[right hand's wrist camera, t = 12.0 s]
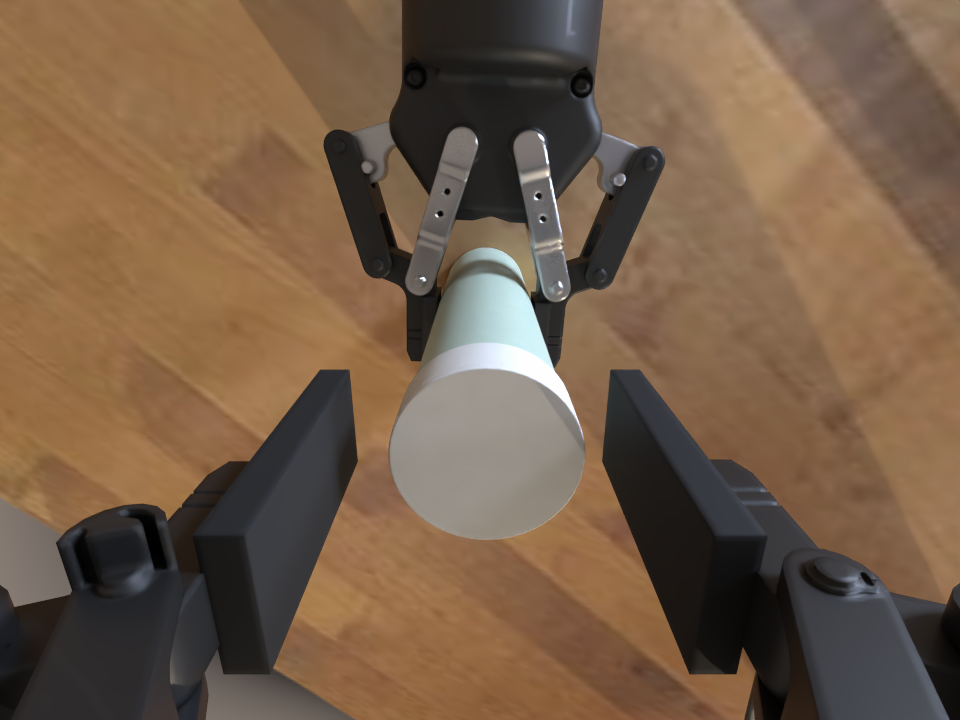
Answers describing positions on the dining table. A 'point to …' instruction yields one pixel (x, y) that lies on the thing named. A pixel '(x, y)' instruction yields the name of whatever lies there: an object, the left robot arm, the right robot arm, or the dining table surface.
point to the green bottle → (485, 307)
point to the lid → (486, 442)
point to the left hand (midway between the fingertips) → (483, 369)
